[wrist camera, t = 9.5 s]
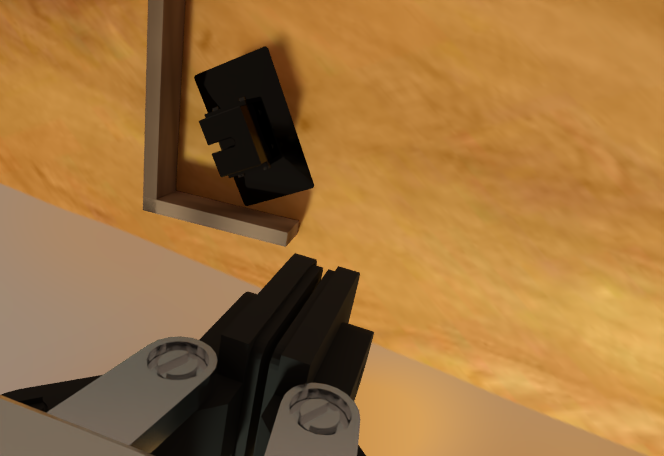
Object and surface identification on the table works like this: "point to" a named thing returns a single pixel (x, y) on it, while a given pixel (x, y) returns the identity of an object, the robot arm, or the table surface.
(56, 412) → the robot arm
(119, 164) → the table surface
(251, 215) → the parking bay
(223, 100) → the build plate
